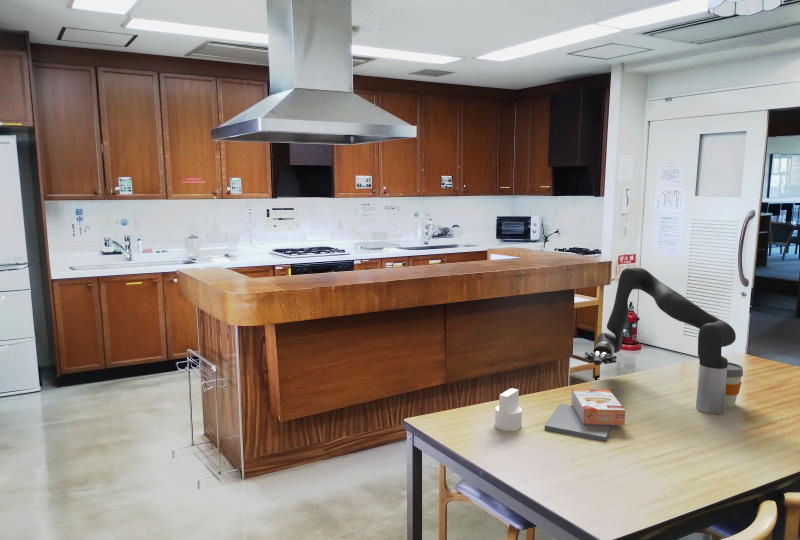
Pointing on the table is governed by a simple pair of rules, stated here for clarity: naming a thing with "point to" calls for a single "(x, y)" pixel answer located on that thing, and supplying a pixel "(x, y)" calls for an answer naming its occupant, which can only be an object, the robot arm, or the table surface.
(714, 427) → the table surface
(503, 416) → the cylinder with rectangular tab
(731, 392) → the reusable coffee cup
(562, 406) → the board
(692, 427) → the table surface
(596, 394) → the cracker box
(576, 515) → the table surface
